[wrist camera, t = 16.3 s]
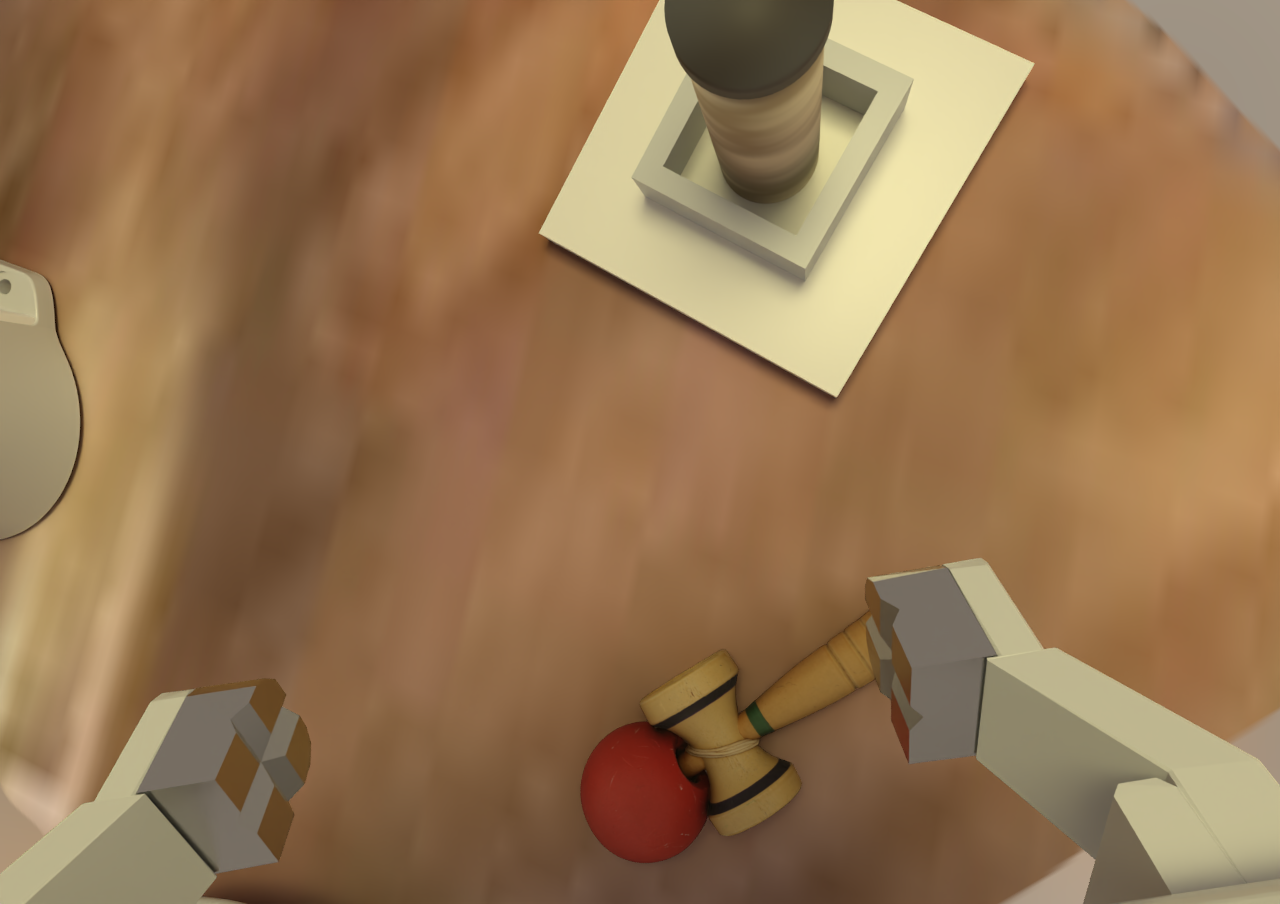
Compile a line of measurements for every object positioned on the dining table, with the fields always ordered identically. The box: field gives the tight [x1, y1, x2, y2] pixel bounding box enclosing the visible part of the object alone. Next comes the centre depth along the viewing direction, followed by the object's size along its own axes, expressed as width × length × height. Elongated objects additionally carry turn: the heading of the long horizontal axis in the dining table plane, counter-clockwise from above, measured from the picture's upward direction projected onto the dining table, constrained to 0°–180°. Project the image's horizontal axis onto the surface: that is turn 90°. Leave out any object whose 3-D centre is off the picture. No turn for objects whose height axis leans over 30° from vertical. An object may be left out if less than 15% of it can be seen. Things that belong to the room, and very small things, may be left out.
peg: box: [664, 0, 834, 204], centre depth 29 cm, size 5×5×13 cm
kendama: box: [581, 611, 875, 863], centre depth 36 cm, size 8×6×18 cm
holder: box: [539, 0, 1035, 398], centre depth 35 cm, size 16×16×4 cm
